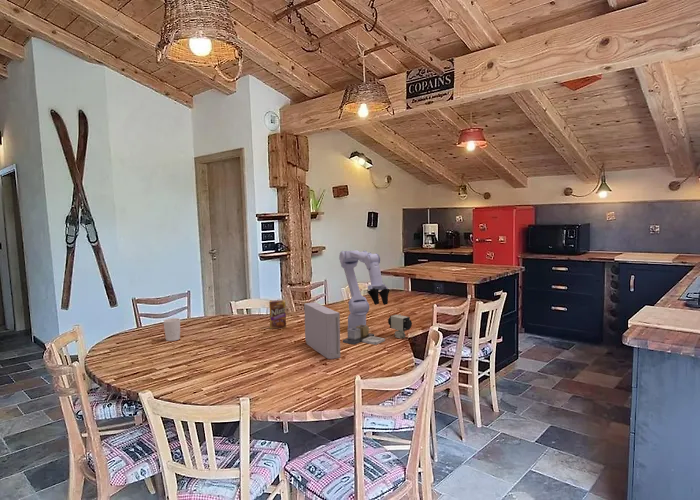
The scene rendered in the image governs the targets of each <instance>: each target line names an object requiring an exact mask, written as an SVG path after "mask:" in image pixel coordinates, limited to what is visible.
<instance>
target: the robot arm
mask: <svg viewBox="0 0 700 500" xmlns="http://www.w3.org/2000/svg"><path fill="white" fill-rule="evenodd" d="M338 259H339V263H340V266H341V268H342V269H343V270H344V274H345V278H346V281H347V286H348V289H349V292H350V295H351V298H350V299H349V300H348V303H347V304H348V311H349V314H348V315H347V316H348V317H347V330H348V329H351V328H356V326H359V325H366V326H367V314H368V313H369V312H370V304H369V302H368V300H367V298H366V297H365V296H363V295H362V293H361V291H360V286H359V284H358V279H357V276H356V273H355V267H357V266H358V263H359V261H360V263H363V264H364V265H365V266H366V269H367V270H368V276H369V279H370V285H367V294H368V295H369V297H370V298H371V300H372V301H373V304H374V305H380V299H379V296H380V298H381V301H382V304H383V305H384V306H385V305H388V304H389V303H388V302H389V300H388V299H389V294H390V288H389V287H388V285H386V283H383V282H384V281H383V277H382V272H381V267H380V263H381V257H380V254H378V253H377V252H376V253H372V252H370V251H369V252H368V251H367V250H363V251H359V250H358V249H355V250H341V251H340V253H339V258H338ZM347 330H346V331H347Z"/></svg>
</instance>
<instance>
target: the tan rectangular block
mask: <svg viewBox="0 0 700 500" xmlns="http://www.w3.org/2000/svg"><path fill="white" fill-rule="evenodd" d="M356 328H358V329H360V334H361V337H362V338H364V337H367V336H369V332H370V331H369V330H370V328H369V325H367V324H366V325H359V326H356Z"/></svg>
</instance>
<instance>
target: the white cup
mask: <svg viewBox="0 0 700 500" xmlns="http://www.w3.org/2000/svg"><path fill="white" fill-rule="evenodd" d="M163 327H164V328H163V329H164V335H165V341H166V342H167V341H169V342H175V341H178V340H180V339H181V319H180V318H177V317H173V318H167V319H164V320H163Z"/></svg>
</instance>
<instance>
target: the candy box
mask: <svg viewBox="0 0 700 500" xmlns="http://www.w3.org/2000/svg"><path fill="white" fill-rule="evenodd" d="M286 302H287V300H286V299H282V300H281V299H279V300H269V329H270V330H273V329H287V316H286V315H287V311H286V310H287V307H286V306H287V305H286V304H287V303H286Z"/></svg>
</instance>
